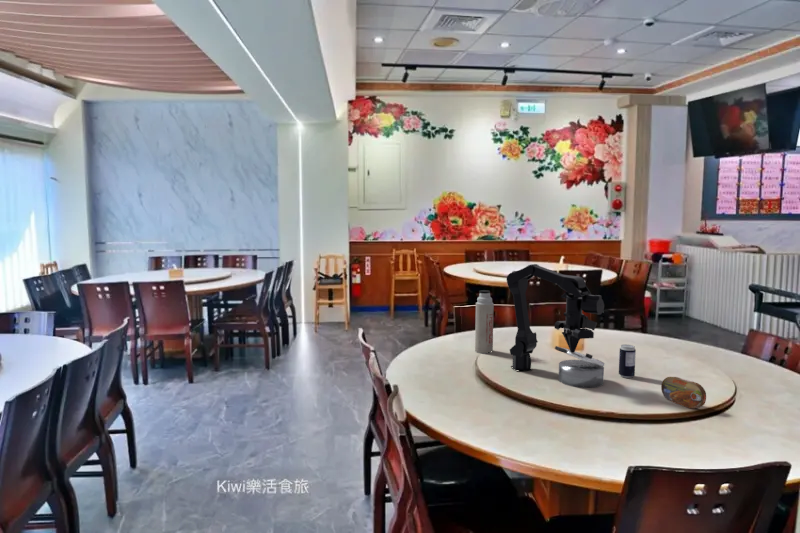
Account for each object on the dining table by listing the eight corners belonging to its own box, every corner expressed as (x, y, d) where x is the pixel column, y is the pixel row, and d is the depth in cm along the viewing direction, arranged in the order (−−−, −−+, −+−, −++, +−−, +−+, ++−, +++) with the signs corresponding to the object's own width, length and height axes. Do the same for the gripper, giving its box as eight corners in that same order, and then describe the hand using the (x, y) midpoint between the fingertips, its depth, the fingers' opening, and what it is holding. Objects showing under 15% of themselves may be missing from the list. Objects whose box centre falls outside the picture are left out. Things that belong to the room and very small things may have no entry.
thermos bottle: (496, 352, 246) (497, 291, 243) (481, 354, 242) (482, 292, 239) (485, 348, 253) (486, 288, 250) (471, 350, 249) (472, 290, 246)
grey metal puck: (571, 389, 194) (572, 372, 193) (550, 376, 210) (551, 360, 209) (612, 386, 197) (612, 370, 196) (588, 373, 213) (589, 358, 212)
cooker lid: (567, 355, 192) (569, 349, 192) (546, 345, 208) (548, 339, 208) (612, 370, 196) (614, 364, 196) (588, 358, 212) (590, 353, 212)
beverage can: (634, 375, 211) (636, 345, 209) (634, 379, 205) (635, 348, 204) (619, 373, 213) (620, 343, 212) (618, 377, 208) (619, 346, 207)
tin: (660, 397, 185) (661, 373, 184) (666, 396, 186) (667, 372, 186) (700, 412, 172) (702, 386, 171) (707, 411, 173) (708, 385, 172)
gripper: (608, 314, 193) (606, 357, 194) (580, 306, 211) (579, 345, 212) (579, 315, 190) (577, 359, 192) (554, 306, 209) (553, 346, 210)
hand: (572, 352), depth 202 cm, fingers closed, pressing on cooker lid
